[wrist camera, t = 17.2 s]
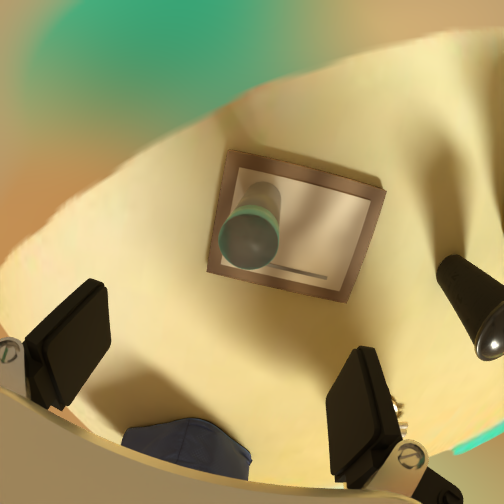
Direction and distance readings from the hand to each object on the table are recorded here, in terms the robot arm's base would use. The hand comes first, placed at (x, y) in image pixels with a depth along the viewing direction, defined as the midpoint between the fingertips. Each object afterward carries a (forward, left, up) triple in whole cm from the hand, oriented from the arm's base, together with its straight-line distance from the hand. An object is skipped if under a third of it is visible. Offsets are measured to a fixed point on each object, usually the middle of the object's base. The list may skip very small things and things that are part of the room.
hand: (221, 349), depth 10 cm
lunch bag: (+5, +56, -24) cm, 61 cm away
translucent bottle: (0, -1, -22) cm, 22 cm away
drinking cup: (-26, +2, -24) cm, 35 cm away
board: (-4, +2, -23) cm, 24 cm away
